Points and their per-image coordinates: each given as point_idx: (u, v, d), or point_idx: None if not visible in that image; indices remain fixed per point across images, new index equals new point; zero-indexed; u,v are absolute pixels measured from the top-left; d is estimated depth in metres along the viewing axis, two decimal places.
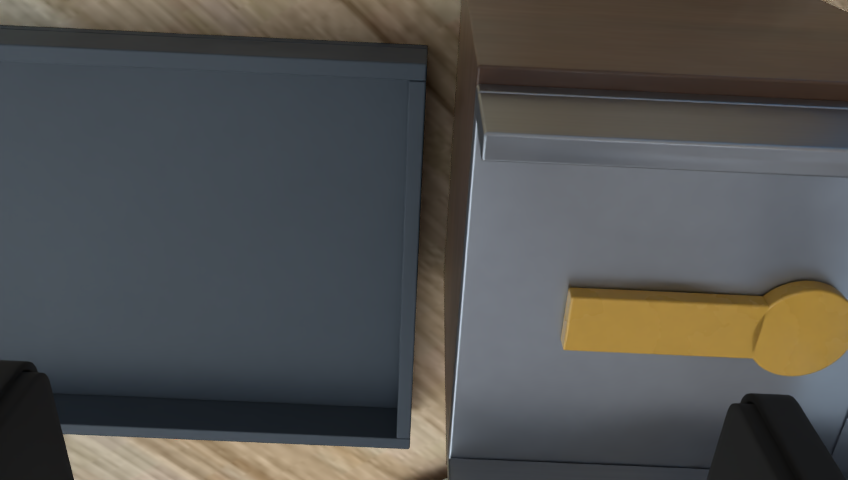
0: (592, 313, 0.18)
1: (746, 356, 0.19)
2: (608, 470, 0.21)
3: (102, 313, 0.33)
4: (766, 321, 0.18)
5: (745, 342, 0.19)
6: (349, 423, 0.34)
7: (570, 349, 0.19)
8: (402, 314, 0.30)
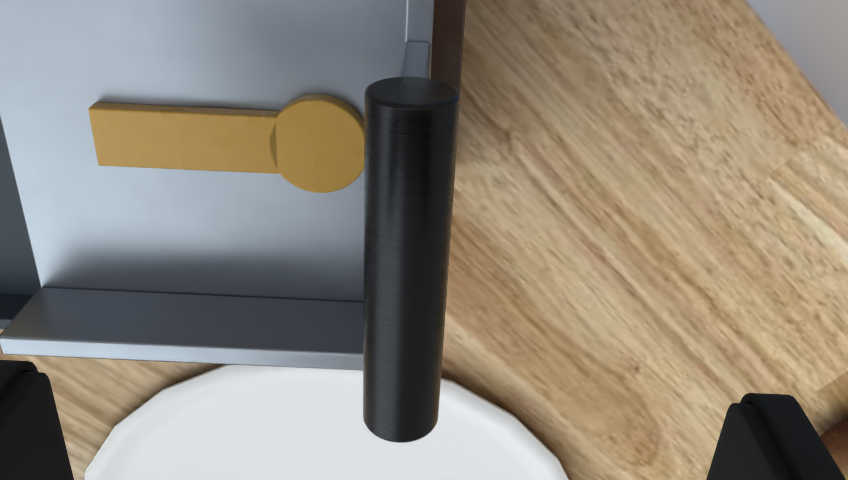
0: (112, 125, 0.19)
1: (272, 171, 0.20)
2: (189, 298, 0.22)
3: None
4: (278, 133, 0.19)
5: (267, 156, 0.20)
6: None
7: (103, 164, 0.20)
8: None
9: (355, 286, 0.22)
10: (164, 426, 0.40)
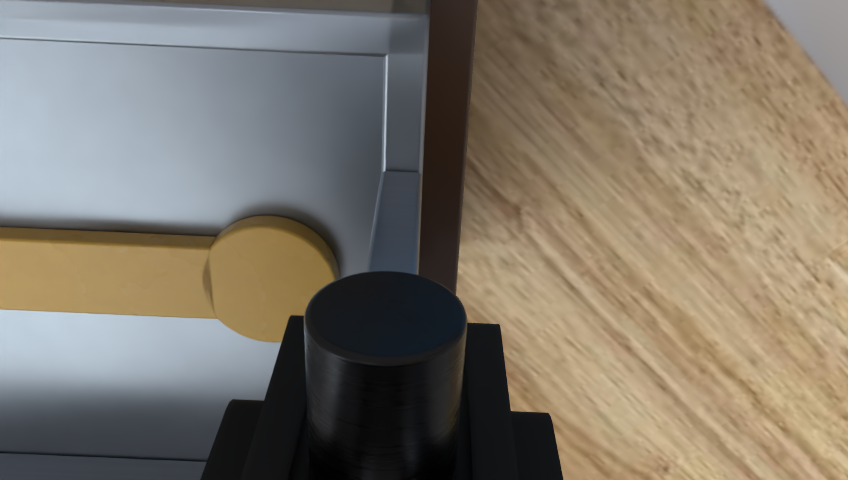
0: None
1: (207, 316, 0.15)
2: (106, 464, 0.17)
3: None
4: (213, 269, 0.14)
5: (199, 297, 0.14)
6: None
7: None
8: None
9: None
10: None
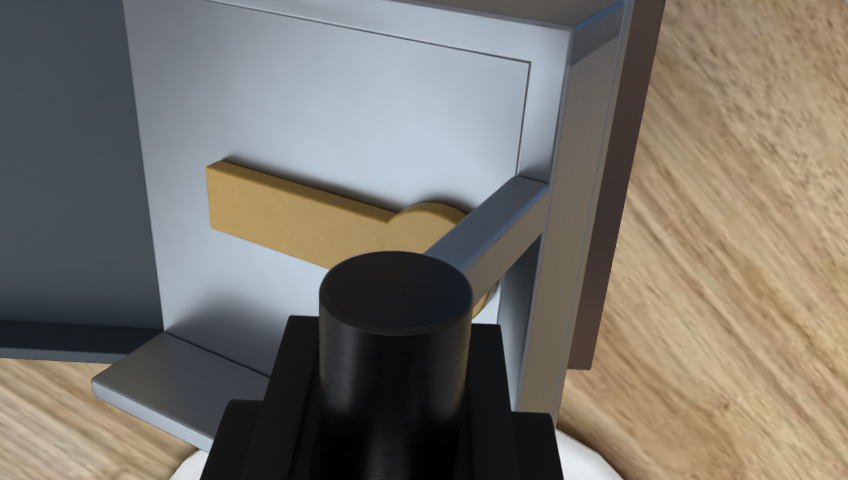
0: (225, 190, 0.17)
1: None
2: None
3: None
4: (387, 241, 0.15)
5: None
6: None
7: (215, 228, 0.18)
8: None
9: None
10: None
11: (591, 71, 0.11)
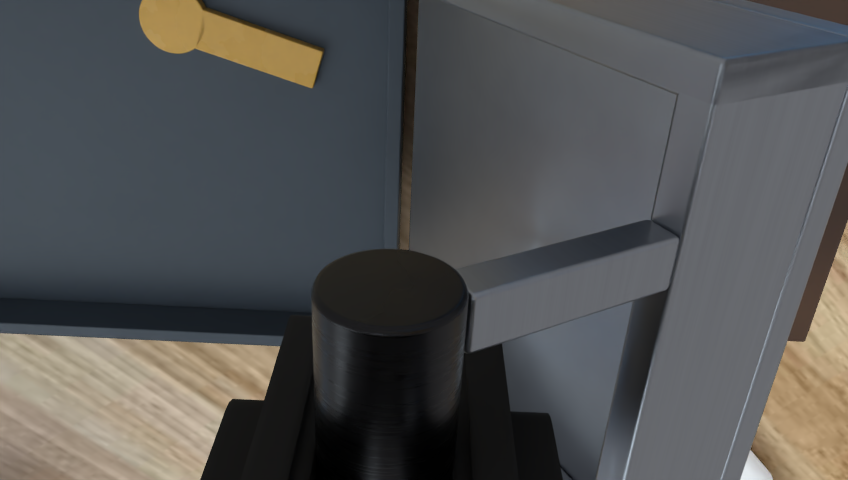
0: (301, 74, 0.30)
1: (207, 13, 0.29)
2: None
3: (98, 218, 0.34)
4: (196, 38, 0.30)
5: (208, 24, 0.29)
6: None
7: (318, 51, 0.30)
8: (386, 212, 0.31)
9: None
10: None
11: (772, 118, 0.09)
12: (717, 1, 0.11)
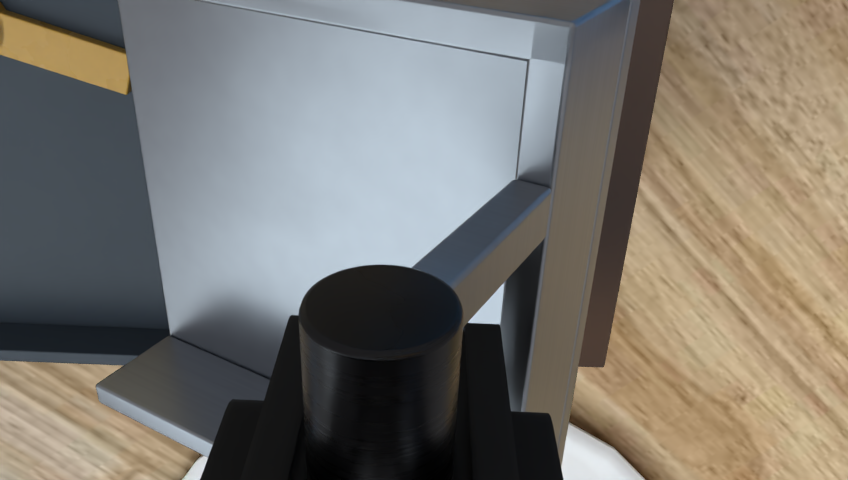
0: (112, 79, 0.28)
1: (5, 16, 0.27)
2: None
3: None
4: None
5: (8, 28, 0.28)
6: None
7: None
8: None
9: None
10: None
11: (594, 68, 0.11)
12: None
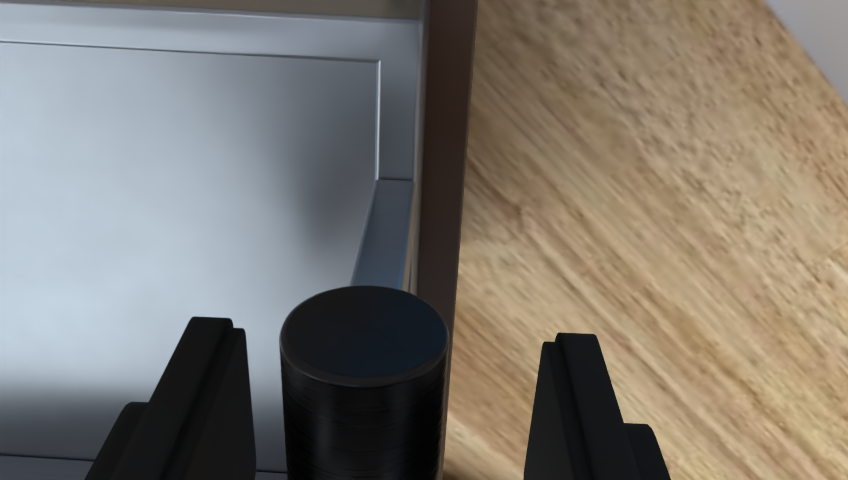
0: None
1: None
2: None
3: None
4: None
5: None
6: None
7: None
8: None
9: None
10: None
11: (424, 61, 0.11)
12: None
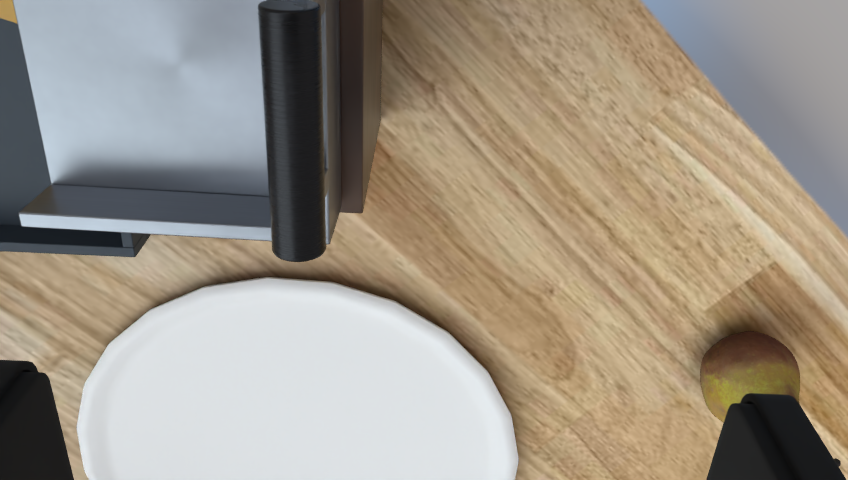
0: None
1: None
2: (163, 192, 0.29)
3: None
4: None
5: None
6: (89, 238, 0.42)
7: None
8: None
9: None
10: (152, 343, 0.47)
11: None
12: None
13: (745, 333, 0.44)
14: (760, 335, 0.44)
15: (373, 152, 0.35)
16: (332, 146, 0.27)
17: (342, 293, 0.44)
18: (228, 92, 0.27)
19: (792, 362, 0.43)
